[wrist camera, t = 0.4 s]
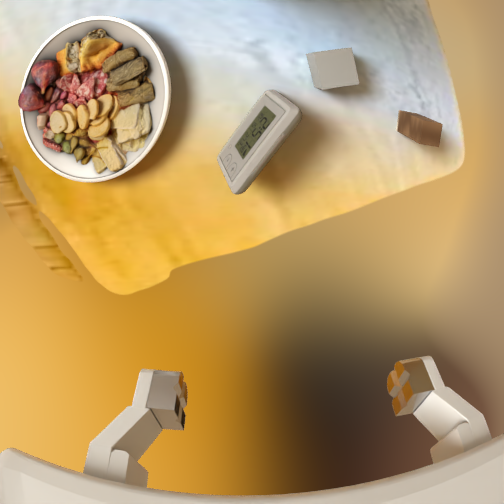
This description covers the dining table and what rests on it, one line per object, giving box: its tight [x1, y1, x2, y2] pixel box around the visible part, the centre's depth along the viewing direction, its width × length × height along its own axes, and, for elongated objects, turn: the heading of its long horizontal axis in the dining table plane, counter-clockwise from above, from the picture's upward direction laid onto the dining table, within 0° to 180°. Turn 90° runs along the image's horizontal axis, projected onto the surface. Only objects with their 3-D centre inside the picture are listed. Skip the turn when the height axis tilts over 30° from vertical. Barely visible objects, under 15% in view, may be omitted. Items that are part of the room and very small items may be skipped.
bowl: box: [18, 16, 171, 182], centre depth 41 cm, size 30×30×8 cm
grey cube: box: [306, 48, 359, 90], centre depth 41 cm, size 6×6×6 cm
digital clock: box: [217, 90, 302, 194], centre depth 45 cm, size 16×9×11 cm, turn 133°
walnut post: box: [396, 110, 442, 147], centre depth 44 cm, size 4×4×9 cm
